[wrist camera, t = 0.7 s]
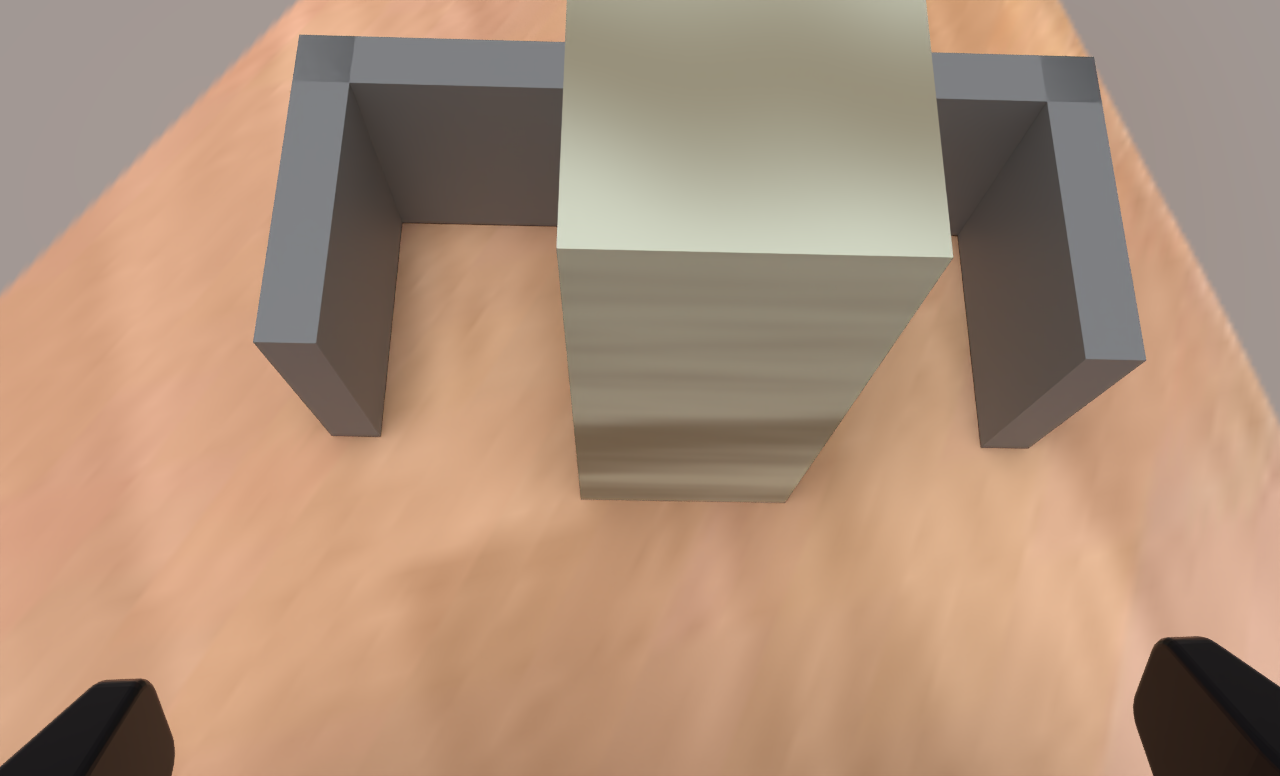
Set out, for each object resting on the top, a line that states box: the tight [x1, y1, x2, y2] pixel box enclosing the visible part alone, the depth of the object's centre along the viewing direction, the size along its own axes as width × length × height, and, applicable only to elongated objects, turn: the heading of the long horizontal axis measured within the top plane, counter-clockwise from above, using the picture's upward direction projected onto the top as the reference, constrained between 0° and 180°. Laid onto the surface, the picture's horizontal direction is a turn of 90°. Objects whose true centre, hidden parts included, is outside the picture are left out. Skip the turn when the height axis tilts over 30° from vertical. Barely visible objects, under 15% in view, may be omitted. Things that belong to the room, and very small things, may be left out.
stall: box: [253, 35, 1146, 448], centre depth 24 cm, size 7×17×6 cm, turn 89°
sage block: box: [557, 0, 953, 503], centre depth 20 cm, size 5×5×13 cm
